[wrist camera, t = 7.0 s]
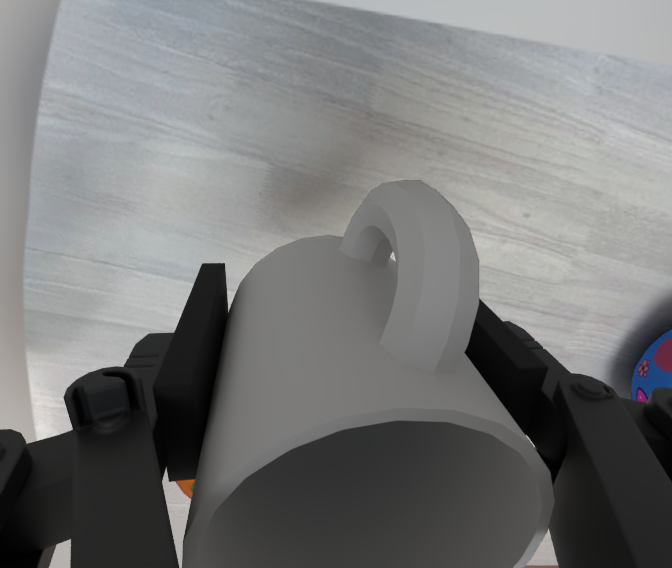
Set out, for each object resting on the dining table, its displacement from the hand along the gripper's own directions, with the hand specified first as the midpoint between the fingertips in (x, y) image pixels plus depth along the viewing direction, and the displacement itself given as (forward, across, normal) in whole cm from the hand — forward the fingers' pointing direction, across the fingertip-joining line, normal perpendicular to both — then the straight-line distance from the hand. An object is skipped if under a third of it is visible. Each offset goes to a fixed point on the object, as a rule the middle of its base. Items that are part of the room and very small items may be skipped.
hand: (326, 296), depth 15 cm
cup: (0, 0, 0) cm, 1 cm away
